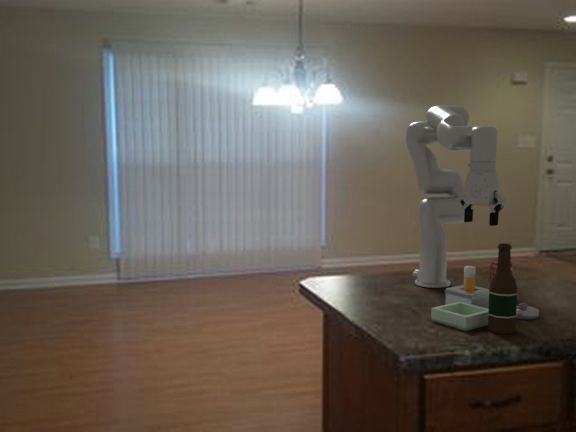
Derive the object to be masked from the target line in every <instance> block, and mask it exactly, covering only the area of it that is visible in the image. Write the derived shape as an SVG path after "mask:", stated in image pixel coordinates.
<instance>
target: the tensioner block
mask: <svg viewBox="0 0 576 432" xmlns="http://www.w3.org/2000/svg"><path fill="white" fill-rule="evenodd" d="M444 294H445V302H444V303H445V304H444V305H447V304H451V303H456V302H463V303H467V304H471V305H475V306H479V307H483V308H487V309H489V288H485V287H481V286H477V285H475V291H471V292H470V291H466V290H464V284H462V285H455V286H452V287H451V286H449V287H445V290H444Z"/></svg>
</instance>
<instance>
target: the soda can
mask: <svg viewBox="0 0 576 432" xmlns="http://www.w3.org/2000/svg"><path fill="white" fill-rule="evenodd" d="M497 263H498V259H493V260H491V263H490V266H489V283H490V282H491V279H492V277H493V276H494V274H495V273H496V270H497ZM512 263H513V262H512V261H511V274H512V275H513V276H514V265H513V264H512Z"/></svg>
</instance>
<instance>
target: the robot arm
mask: <svg viewBox="0 0 576 432" xmlns="http://www.w3.org/2000/svg"><path fill="white" fill-rule="evenodd" d="M425 114H426V115H425V120H422V121H414V122H412V123H410V124H409V125H408V126H407V128H406V132H405V143H406V148H407V150H408V153H409V155H410V157H411V159H412V162H413V165H414V166H413V167H414V173H415V178H416V183H417V187H418V191H419V192H420V194H421V195H423V196H429V197H426V198H423V199H422V200H421V201H420V202H419V204H418V206H417V214H418V221H419V234H420V235H419V269H415V270H414V271H413V272H412V276H416V279H415V280H414V284H415V285H416V286H418V287H422V288H431V289H442V288H449V287H451V281H450V280H448V279H447V263H448V261H447V260H448V259H447V258H448V236H447V233H446V231H445V230H444V228H443V226H442V225H444V224H445V225H446V224H447V225H448V224H449V225H451V224H462V223H463V222H464V223H472V222H473V220H474V209H473V207H474V206H483V207H488V208H489V210H490V211H491V212H489V220H488V221H489V223H488V224H489V226H490V227H494V226H496V227H497V226H499V216H500V215H499V213H501V211H502V209H503V208H504V207H505V204H506V202H507V198H506V197H505V196H503V195H502V194H501V193H500V188H499V187H500V186H499V178H498V172H496V171H497V152H498V151H497V146H498V145H497V144H498V130H497V128H496V127H495V126H489V125H488V126H487V125H486V126H483V125H480V126H479V125H468V124H469V122H470V114H469V111H468V110H467V108H466V107H464V106H462V105H457V104H456V105H453V104H452V105H449V104H447V105H443V104H442V105H441V104H440V105H435V106H432V107H430V108H429V109H428V110H427V111H426V113H425ZM427 145H441V146H442V147H443V148H445V149H448V150H449V151H470V157H469V159H470V160H469V161H470V162H469V163H468V164H467V167H468V168H469V171H467V173H466V177H465V181H464V183H463V179H462V175H460V173H459V172H458V171H457V170H454V169H441V168H440V167H439V163H438V162H439V161H438V158H437V156H436V154H435V153H434V152H433V151H432V150H431V149H430V148H429V147H428V146H427ZM439 196H440V197H439ZM443 196H444V197H443Z"/></svg>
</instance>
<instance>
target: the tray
mask: <svg viewBox="0 0 576 432" xmlns="http://www.w3.org/2000/svg"><path fill="white" fill-rule="evenodd" d="M488 310H489V309H487V308H483V307H479V306H475V305H471V304H467V303H463V302H456V303H451V304H447V305H445V304H444V305H439V306H434V307H431V312H430V315H431V316H430V317H431V318H430V321H431V322H435V323H438V324H441V325H444V326H448V327H450V328H454V329H458V330H461V331H464V332H467V331H471V330H475V329H478V328H482V327H485V326H488Z"/></svg>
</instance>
